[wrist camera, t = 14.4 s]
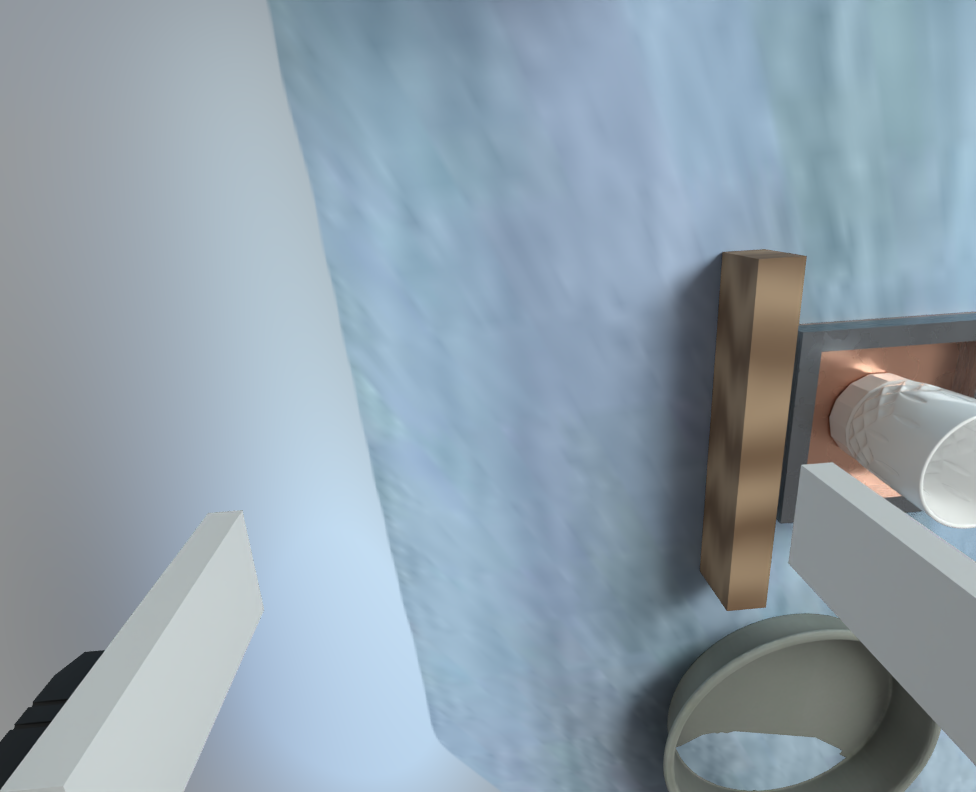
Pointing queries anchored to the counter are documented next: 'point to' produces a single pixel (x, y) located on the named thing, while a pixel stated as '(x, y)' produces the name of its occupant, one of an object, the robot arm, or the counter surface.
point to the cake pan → (802, 704)
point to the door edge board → (749, 420)
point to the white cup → (913, 442)
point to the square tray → (851, 356)
